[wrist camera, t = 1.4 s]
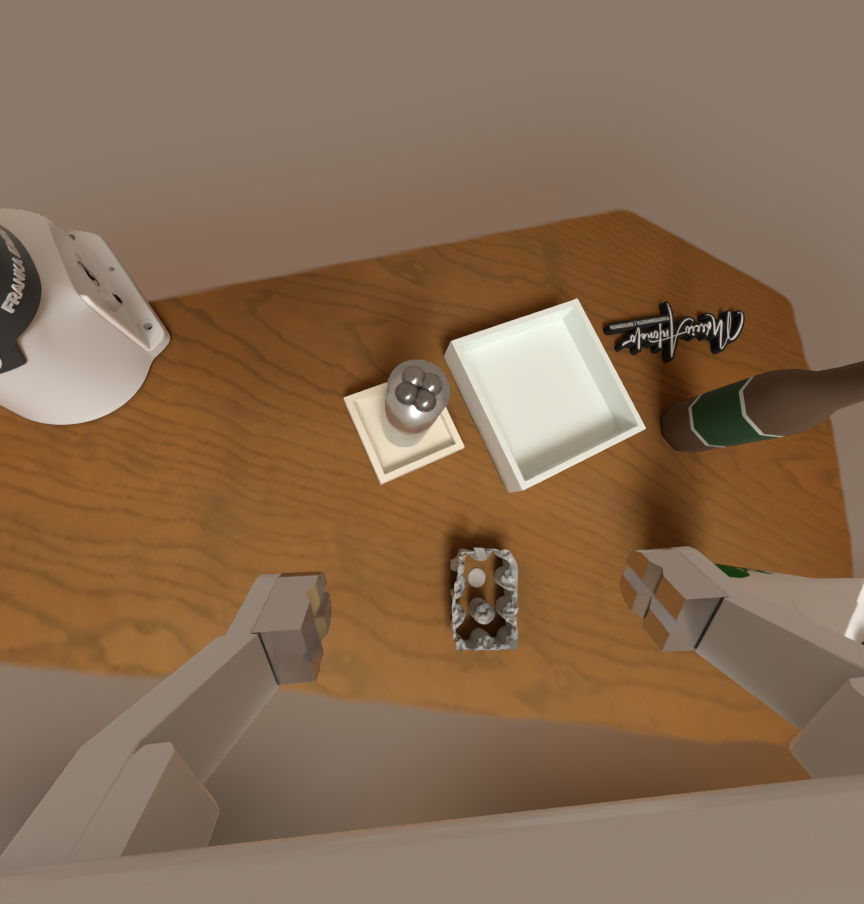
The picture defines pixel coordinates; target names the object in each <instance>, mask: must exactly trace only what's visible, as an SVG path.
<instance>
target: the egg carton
mask: <svg viewBox="0 0 864 904" xmlns="http://www.w3.org/2000/svg"><path fill="white" fill-rule="evenodd" d="M492 550H493V551H494V553H495V555H496V556H498V557H500V558H502V560H503V566H501V567H499V568H497V569H496V571H495V574H494V579H495V582H496V583H497V584H498V585H500V586H501V587H503V588H504V596H501V597H500V598H498V600H497V601H496V605H495V608H496V611H497V613H498V614H499V615H500V616H501V617H503V618H504V619H505V626H503V627H501V628H500V629H499V630H498V632H497V635H496V637H491V636H490V635H489V634H488V633H487V632H486V631H485V630H484V629H482V628H476V629H474V630H473V631H472V632H471V634H470V637H469V640H463V639H462V638H461V636H460V635H459V634H458V633H457V632H456V631H455V630H456V628H458V626H459V625H461V624H462V622H463V620H464V618H465V616H466V611H465V610H464V609H463V607H462V606H461V605H460V604H459V603H458V602H457V601H456V599H457V598H459V597H460V596H461V595H462V594H463V592H462V591H463V590H464V588H465V582H466V579H465V577H464V576H463V573H464V562H465V558H466V556H467V555H470V556H471V557H472V558H474V559H476V560H479V561H483V560H485V559H487V558H488V557H489V556H490V554H491V552H492ZM450 568H451V570H453V571H455V572H457V573H458V575H457V581H456V582H455V584H454V588H453V589H451V590H450V591H451V597H452V601H453V603H452V620H451V630H453V631H454V637H453V638H454V641H455V643H456V646H457V650H458V651H463V650H474V651H478V650H500V649H517V648H518V631H517V619H518V618H517V611H518V599H517V596H518V590H517V580H518V566H517V563H516V560H515V559H514V557H513V556H512V554H511V552H510V551H509V550H502V551H500V550H497V549H493V548H486V549H484V548H474V550H472V551H470V550H467V549H459V551H458V554H457V556H456V557H455V558H454V559H451V561H450ZM485 578H486V575H485V573H484V571H483V570H482V569H480V568H473V569H472V570H471V571H470V572H469V574H468V581H469V583H470V585H471V586H473V587H475V588H478V587H481V586H482V585H483V584H484V583H485ZM469 613H470V615H471V616H472V617H473V618H474V619H475V621H477V622H478V623H481V624H488V623H489V622H490V621H492V620H493V618H494V615H495V611H494V610H493V608H492V606H491V605H490V604H489V603H488V602H486V601H485V600H484V599H482V598H480V597H477V598H474V599H472V600H471V602H470V603H469Z"/></svg>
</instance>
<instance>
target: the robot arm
mask: <svg viewBox="0 0 864 904" xmlns="http://www.w3.org/2000/svg"><path fill="white" fill-rule="evenodd" d="M149 327H152V328H151V329H150V330H148V328H149ZM169 342H170V334H169V332H168V331H167V329H166V328H165V326H164V325H163V323H162V322H161V320H160V319H159V318H158V316H157V315H156V313H155V312H154V310H153V309H152V307H151V306H150V304H149V303H148V301H147V300H146V298H145V297H144V295H143V294H142V292H141V291H140V290H139V288H138V287H137V285H136V284H135V282H134V281H133V279H132V278H131V276H130V275H129V273H128V272H127V270H126V269H125V267H124V266H123V264H122V263H121V261H120V260H119V259H118V257H117V256H116V254H115V253H114V251H113V250H112V248H111V247H110V245H109V244H108V243H107V242H106V241H105V240H104V239H103V238H101V237H100V236H99V235H97V234H93V233H89V232H85V231H78V230H66V229H60V228H59V227H58V226H57V225H55V224H54V223H53V222H52V221H50V220H49V219H47V218H46V217H44V216H41V215H39V214H36V213H33V212H29V211H25V210H18V209H5V208H0V405H1V406H3V407H5V408H7V409H9V410H11V411H13V412H15V413H16V414H18V415H20V416H22V417H25V418H27V419H30V420H33V421H37V422H41V423H47V424H60V425H64V424H76V423H82V422H87V421H90V420H94V419H97V418H100V417H102V416H105V415H107V414H109V413H111V412H113V411H114V410H116V409H118V408H119V407H121V406H122V405H123V404H125V403H126V402H127V401H128V400H129V399H130V398H132V397H133V396H134V394H135V393H136V392H137V391H138V390H139V388H140V387H141V385H142V384H143V382H144V380H145V378H146V376H147V374H148V371H149V368H150V366H151V364H152V362H153V360H154V358H155V357H156V356H157V355H159V354H160V353H161V352H162V351H163V350H164V348H165V347H166V346H167V345H168V343H169ZM627 563H628V565H629V567H630V568H628V569H627V570H626V571H625V572H624V573H623V574H622V577H621V581H620V587H621V593H622V596H623V598H624V600H625V602H626V604H627V605H628V606H629V608H630V609H631V611H633V612H634V613H636V614H638V615H639V616H641V617H642V618H643V627H644V628H645V630H646V631H647V633H648V634H649V635H650V637H651V638H652V639H653V641H654V642H655V643H656V645H657V646H658V648H659V649H660V650H661V652H665V651H684V650H696V651H695V652H696V653H698V654H699V655H700V656H702V657H703V658H704V659H706V660H707V661H708V662H710V663H711V664H712V665H714V666H715V667H716V668H718V669H719V670H720V671H722V672H723V673H724V674H726V675H727V676H728V677H730V678H731V679H732V680H734V681H735V682H736V683H738V684H739V685H740V686H742V687H743V688H745V689H746V690H747V691H749V692H750V693H751V694H753V695H754V696H755V697H757V698H758V699H759V700H761V701H762V702H763V703H765V704H766V705H767V706H769V707H770V708H771V709H773V710H774V711H775V712H777V713H778V714H779V715H781V716H782V717H783V718H785V719H786V720H787V721H789V722H790V723H791V724H793V725H794V726H795V727H797V728H798V729H799V730H801V731H800V732H799V733H798V734H797V735H796V736H795V737H794V739H793V740H792V741H791V742H790V751H791V753H792V754H793V755H794V756H795V758H796V759H797V760H798V761H799V762H800V763H801V765H802V766H803V767H804V768H805V769H806V770H807V772H808V773H809V774H810V775H811V777H812V778H813V779H809V780H801V781H792V782H782V783H774V784H764V785H757V786H748V787H738V788H729V789H721V790H711V791H702V792H693V793H685V794H675V795H667V796H658V797H649V798H640V799H631V800H622V801H613V802H604V803H595V804H586V805H577V806H568V807H560V808H551V809H542V810H534V811H524V812H515V813H506V814H497V815H488V816H479V817H471V818H462V819H453V820H444V821H435V822H426V823H417V824H408V825H399V826H390V827H381V828H373V829H364V830H355V831H346V832H337V833H328V834H319V835H310V836H301V837H292V838H283V839H274V840H266V841H257V842H248V843H239V844H230V845H221V846H212V847H207V845H208V842H209V839H210V837H211V834H212V831H213V828H214V826H215V822H216V820H217V817H218V814H219V809H218V806H217V803H216V802H215V800H214V799H213V798H212V797H211V795H210V794H209V792H208V791H207V790H206V788H205V787H204V786H203V784H204V782H205V781H206V780H207V779H208V777H209V776H210V775H211V773H212V772H213V771H214V770H215V768H216V767H217V766H218V765H219V763H220V762H221V761H222V759H223V758H224V757H225V756H226V754H227V753H228V752H229V750H230V749H231V748H232V747H233V745H234V744H235V743H236V741H237V740H238V739H239V738H240V736H241V735H242V734H243V732H244V731H245V730H246V729H247V727H248V726H249V725H250V724H251V722H252V721H253V720H254V719H255V717H256V716H257V715H258V714H259V712H260V711H261V710H262V708H263V707H264V706H265V704H266V703H267V702H268V700H269V699H270V698H271V697H272V696H273V694H274V693H275V692H276V691H277V689H278V686H279V685H287V684H296V683H305V682H313V681H316V680H317V676H318V672H319V668H320V664H321V660H322V656H323V648H322V644H321V641H322V640H323V639H324V638H325V636H326V635H327V634H328V631H329V626H330V620H331V600H330V595H329V594H328V593H327V592H326V591H324V590H325V586H326V583H327V581H326V578H325V574H324V572H297V573H282V574H262V575H260V576H259V577H258V578H257V579H256V580H255V582H254V584H253V586H252V587H251V589H250V591H249V593H248V595H247V596H246V598H245V600H244V602H243V604H242V606H241V607H240V609H239V611H238V613H237V615H236V616H235V618H234V620H233V622H232V624H231V626H230V627H229V629H228V631H227V633H226V635H225V636H220V637H217V638H216V639H214V640H213V641H212V642H211V643H209V644H208V645H207V646H206V647H204V648H203V649H202V650H201V651H199V652H198V653H197V654H196V655H195V656H193V657H192V658H191V659H190V660H188V661H187V662H186V663H185V664H183V665H182V666H181V667H180V668H178V669H177V670H176V671H175V672H174V673H172V674H171V675H170V676H169V677H167V678H166V679H165V680H164V681H162V682H161V683H160V684H159V685H157V686H156V687H155V688H154V689H153V690H151V691H150V692H149V693H148V694H146V695H145V696H144V697H143V698H141V699H140V700H139V701H138V702H136V703H135V704H134V705H133V706H132V707H130V708H129V709H128V710H126V711H125V712H124V713H123V714H122V715H120V716H119V717H118V718H117V719H116V720H114V721H113V722H112V723H110V724H109V725H108V726H107V727H105V728H104V729H103V730H102V731H100V732H99V733H98V734H97V735H96V736H94V737H93V738H92V739H91V740H90V741H88V742H87V743H86V744H84V745H83V746H82V747H81V748H80V749H79V751H78V752H77V753H76V755H75V756H74V758H73V759H72V760H71V761H70V763H69V764H68V765H67V767H66V768H65V770H64V771H63V772H62V774H61V775H60V776H59V778H58V779H57V780H56V782H55V783H54V785H53V786H52V787H51V789H50V790H49V791H48V793H47V794H46V796H45V797H44V798H43V799H42V801H41V802H40V804H39V805H38V806H37V808H36V809H35V810H34V812H33V813H32V814H31V816H30V817H29V818H28V820H27V821H26V823H25V824H24V825H23V827H22V828H21V829H20V831H19V832H18V833H17V835H16V836H15V837H14V839H13V840H12V841H11V843H10V844H9V846H8V847H7V848H6V850H5V851H4V853H3V854H2V855H1V856H0V904H864V645H863V644H860V643H858V642H856V641H854V640H852V639H850V638H847V637H845V636H843V635H841V634H839V633H837V632H835V631H832V630H830V629H828V628H826V627H824V626H822V625H820V624H817V623H815V622H813V621H811V620H809V619H807V618H805V617H802V616H800V615H798V614H796V613H794V612H792V611H790V610H787V609H785V608H783V607H781V606H779V605H777V604H775V603H772V602H770V601H768V600H766V599H764V598H762V597H760V596H751V595H750V594H749V593H747V592H746V591H745V590H744V589H743V588H742V587H740V586H739V585H738V584H737V583H736V582H734V581H733V580H732V579H731V578H730V577H729V576H727V575H726V574H725V573H724V572H723V571H721V570H720V569H719V568H718V567H717V566H716V565H714V564H713V563H712V562H711V561H710V560H708V559H707V558H706V557H705V556H704V555H703V554H701V553H700V552H699V551H698V550H696V549H694V548H692V547H690V546H685V547H672V548H659V549H646V550H633V551H632V552H631V553H630V554H629V556H628V559H627Z"/></svg>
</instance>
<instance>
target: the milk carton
mask: <svg viewBox="0 0 864 904" xmlns="http://www.w3.org/2000/svg"><path fill="white" fill-rule="evenodd" d="M713 564H714V565H716V566H717V567H718V568H719V569H720V570H721V571H723V572H724V573H725V574H726V575H727V576H729V577H730V578H731V579H732V580H733V581H734V582H736V583H737V584H738V585H739V586H740V587H742V588H743V589H744V590H745V591H746V592H747V593H749V594H750V595H751V596H760V597H762V598H764V599H766V600H768V601H770V602H772V603H775V604H777V605H779V606H781V607H783V608H785V609H787V610H790V611H792V612H794V613H796V614H798V615H800V616H802V617H805V618H807V619H809V620H811V621H813V622H815V623H817V624H820V625H822V626H824V627H826V628H828V629H830V630H832V631H835V632H837V633H839V634H841V635H843V636H845V637H847V638H850V639H852V640H854V641H856V642H858V643H860V644H863V645H864V578H836V579H816V578H807V577H800V576H793V575H787V574H780V573H773V572H767V571H760V570H753V569H747V568H740V567H733V566H727V565H720V564H715V563H713Z"/></svg>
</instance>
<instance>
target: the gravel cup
mask: <svg viewBox="0 0 864 904" xmlns="http://www.w3.org/2000/svg"><path fill="white" fill-rule="evenodd" d="M449 397H450V386H449V382H448V380H447V378H446V376H445V374H444V373H443V372H442V371H441V370H440V369H439V368H438V367H437V366H436V365H434V364H432V363H430V362H428V361H424V360H409V361H405V362H403V363H401V364H399V365H398V366H397V367H396V368H395V369H394V370H393V371H392V373H391V374H390V376H389V379H388V383H387V390H386V397H385V405H384V412H383V419H382V430H383V433H384V435H385V437H386V438H387V440H388V441H389V442H391V443H392V444H394V445H396V446H398V447H411V446H414V445H416V444H418V443H419V442H420V441H421V440H422V439H423V437H424V436H425V435H426V433H427V432H428V430H429V429H430V428H431V426H432V425H433V424H434V422H435V421H436V419H437V418H438V417H439V415H440V414H441V412H442V411H443V410H444V408H445V407H446V405H447V403H448V401H449Z"/></svg>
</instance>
